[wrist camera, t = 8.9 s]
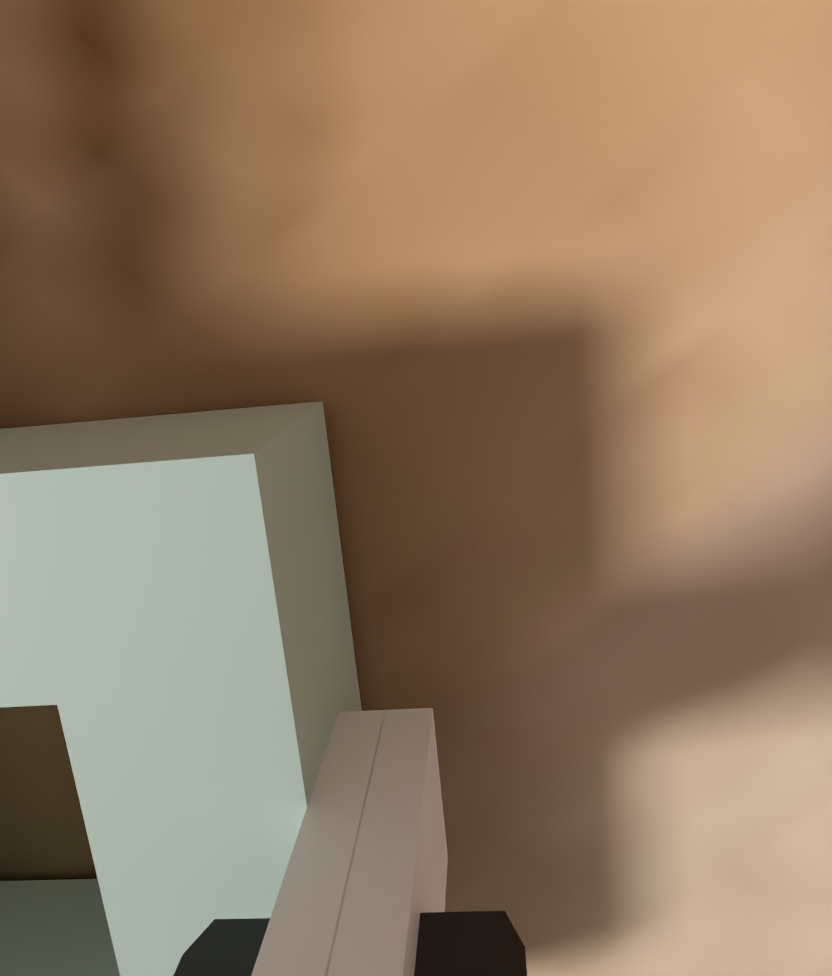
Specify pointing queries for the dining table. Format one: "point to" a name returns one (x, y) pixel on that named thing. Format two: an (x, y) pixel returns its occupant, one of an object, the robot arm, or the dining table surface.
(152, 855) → the block
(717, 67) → the dining table surface
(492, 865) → the dining table surface
